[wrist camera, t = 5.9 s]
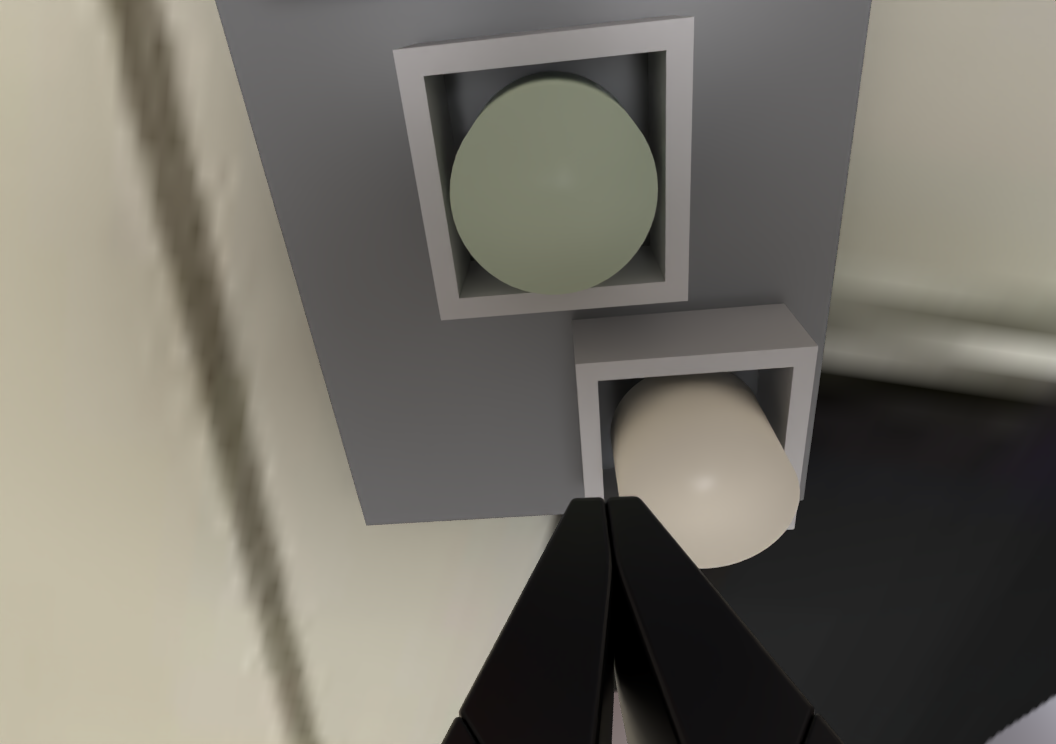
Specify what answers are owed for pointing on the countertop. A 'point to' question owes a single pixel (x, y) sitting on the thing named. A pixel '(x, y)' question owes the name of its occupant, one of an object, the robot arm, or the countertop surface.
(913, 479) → the countertop surface
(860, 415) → the countertop surface
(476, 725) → the robot arm
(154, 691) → the countertop surface
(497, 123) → the sage button
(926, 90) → the countertop surface
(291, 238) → the panel
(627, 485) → the cream button
